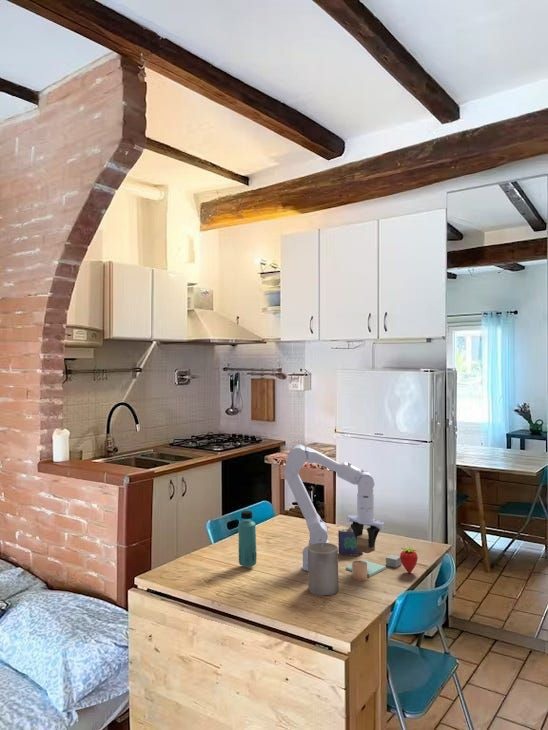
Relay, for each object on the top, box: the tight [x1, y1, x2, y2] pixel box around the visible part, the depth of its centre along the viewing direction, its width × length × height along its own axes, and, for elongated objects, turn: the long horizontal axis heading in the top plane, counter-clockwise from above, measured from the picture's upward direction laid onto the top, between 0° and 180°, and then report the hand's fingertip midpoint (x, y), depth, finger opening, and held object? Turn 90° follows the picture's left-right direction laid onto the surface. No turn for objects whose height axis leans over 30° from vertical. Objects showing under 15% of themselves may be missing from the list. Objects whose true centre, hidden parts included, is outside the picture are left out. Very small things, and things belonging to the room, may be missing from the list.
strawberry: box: [399, 543, 419, 574], centre depth 194 cm, size 6×8×10 cm
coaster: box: [345, 559, 387, 578], centre depth 198 cm, size 10×10×1 cm
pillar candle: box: [307, 542, 340, 596], centre depth 180 cm, size 10×10×15 cm
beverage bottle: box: [237, 510, 257, 567], centre depth 200 cm, size 6×7×20 cm
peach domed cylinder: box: [351, 560, 368, 582], centre depth 190 cm, size 5×5×5 cm
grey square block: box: [385, 554, 402, 569], centre depth 202 cm, size 4×4×3 cm
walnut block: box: [357, 533, 376, 554], centre depth 198 cm, size 4×4×5 cm
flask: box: [337, 525, 364, 556], centre depth 213 cm, size 9×3×11 cm, turn 88°
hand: (365, 545), depth 198 cm, fingers closed on walnut block, 4 cm apart
